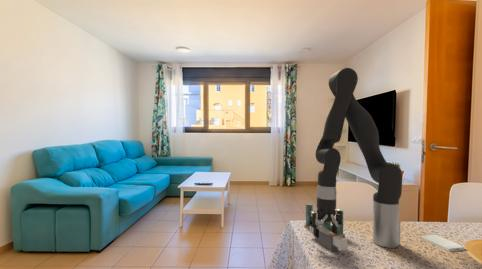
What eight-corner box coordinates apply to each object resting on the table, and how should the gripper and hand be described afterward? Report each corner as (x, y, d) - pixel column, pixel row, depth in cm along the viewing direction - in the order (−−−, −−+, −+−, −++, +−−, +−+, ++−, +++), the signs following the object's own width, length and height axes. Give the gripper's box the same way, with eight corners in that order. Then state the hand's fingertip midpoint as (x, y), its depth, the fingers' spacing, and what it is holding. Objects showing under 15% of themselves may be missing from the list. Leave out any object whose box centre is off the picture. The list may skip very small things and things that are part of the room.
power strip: (316, 235, 112) (317, 222, 112) (347, 255, 95) (347, 238, 94) (309, 237, 111) (309, 223, 111) (339, 256, 93) (339, 240, 93)
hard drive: (420, 235, 110) (449, 248, 98) (436, 234, 111) (466, 246, 99) (420, 239, 110) (449, 252, 98) (436, 238, 111) (466, 250, 99)
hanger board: (321, 224, 126) (321, 202, 126) (344, 236, 111) (344, 211, 111) (304, 226, 123) (304, 203, 123) (325, 239, 108) (326, 213, 108)
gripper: (317, 200, 97) (316, 242, 97) (347, 197, 102) (346, 238, 102) (306, 195, 104) (305, 234, 104) (334, 193, 109) (333, 231, 109)
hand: (325, 236), depth 103 cm, fingers open, 8 cm apart
